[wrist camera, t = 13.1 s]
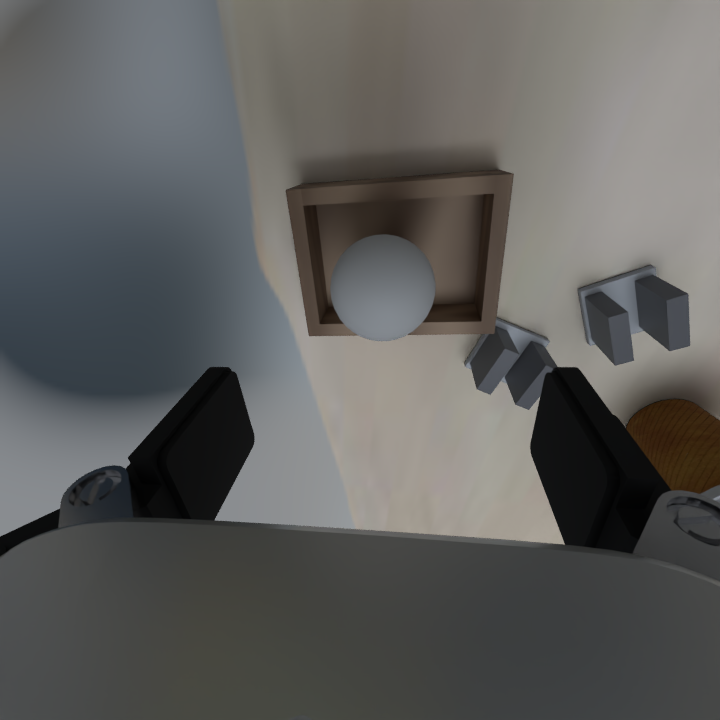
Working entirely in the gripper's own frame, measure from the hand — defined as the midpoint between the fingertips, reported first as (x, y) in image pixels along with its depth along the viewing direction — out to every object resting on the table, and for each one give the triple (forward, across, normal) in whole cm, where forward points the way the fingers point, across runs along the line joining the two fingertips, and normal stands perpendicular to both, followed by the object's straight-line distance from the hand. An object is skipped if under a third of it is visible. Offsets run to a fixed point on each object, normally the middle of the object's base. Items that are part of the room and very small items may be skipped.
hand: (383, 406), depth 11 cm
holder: (+20, 0, 0) cm, 20 cm away
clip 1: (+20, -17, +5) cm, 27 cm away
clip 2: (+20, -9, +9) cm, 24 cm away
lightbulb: (+20, +1, 0) cm, 20 cm away
